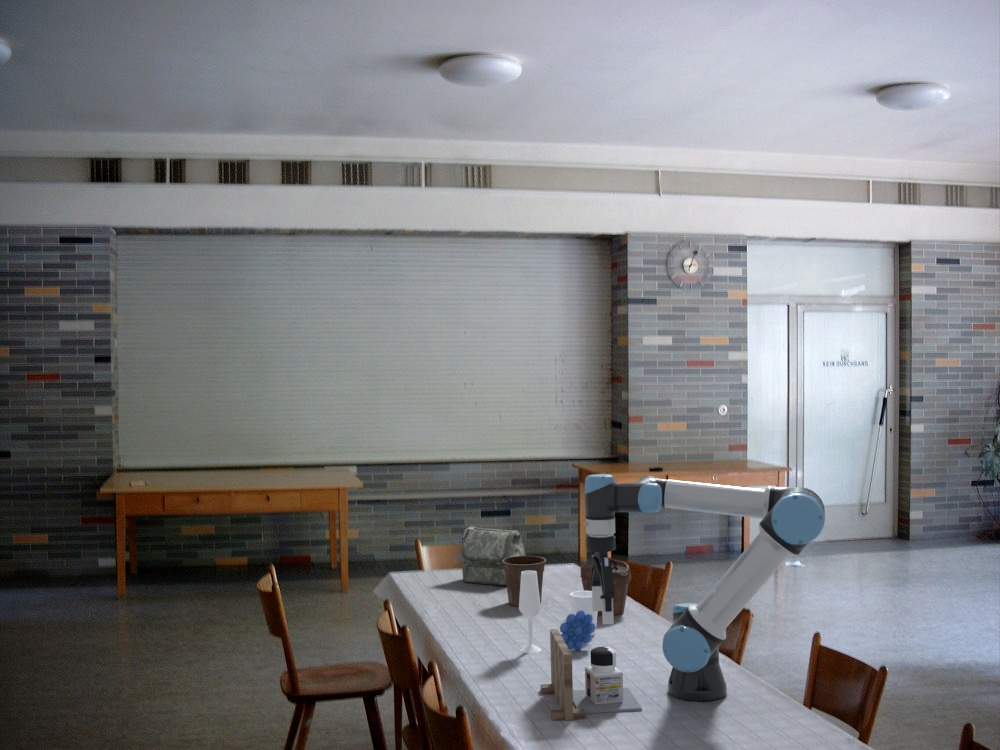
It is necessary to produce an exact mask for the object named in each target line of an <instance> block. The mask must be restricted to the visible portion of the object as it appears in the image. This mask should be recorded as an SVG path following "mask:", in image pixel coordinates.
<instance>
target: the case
mask: <svg viewBox="0 0 1000 750" xmlns="http://www.w3.org/2000/svg"><path fill="white" fill-rule="evenodd" d="M611 560H612V561H611V566H612V575H613V584H614V592H615V597H613V614H614V616H617V615H621V614H624V612H625V606H626V600H627V595H628V589H629V583H630V582H631V580H632V575H631V569H630V566H629V564H628V563H626V562H624V561H621V560H614V559H611ZM579 569H580V576H579V577H580V578H581V584H582V589H583V591H592V586H593V585H592V584H591V581H590V574H591V564H590V565H589V564H585V565H582V566H581V567H580V568H579ZM599 586H601V585H599ZM607 593H609V592H607ZM597 616H601V617H602V611H598V614H597Z"/></svg>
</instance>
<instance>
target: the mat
mask: <svg viewBox="0 0 1000 750" xmlns="http://www.w3.org/2000/svg"><path fill="white" fill-rule="evenodd" d="M573 706H575V709H578V708H583V709H584V711H585V714H599V713H601V714H602V713H616V712H618V713H619V712H635V711H636V712H637V711H638V712H639V711H643V707H642V706H641V705H640V703H639V701H638V700H637V698H636V697H635V696H634V694H633V693H632V691H631V690H630V689H629V687H623V702H619V703H609V704H600V705H595V704H594V703H593V702H592V701H591V700H590V699H589V698H588V697H587V696H586V690H585V689H577V690H576V689H573Z"/></svg>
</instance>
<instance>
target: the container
mask: <svg viewBox="0 0 1000 750" xmlns="http://www.w3.org/2000/svg"><path fill="white" fill-rule="evenodd" d="M589 653H590V654H589V655H590V665H589V666H584V677H585V678H584V682H585V684H584V685H585V687H584V688H585V689H584V690H586V696H587V697H588V698H589V699H590V700H591V701H592V702H593V703H594V704H595V705H600V704H609V703H619V702H623V688H624V681H623V680H624V674H623V673H624V672H623V671H621V670H620V669H619V668H618V667H617V652H616V650H615V649H614V648H611V647H609V646H597V647H594V648H591V650H590V652H589Z"/></svg>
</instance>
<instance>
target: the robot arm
mask: <svg viewBox="0 0 1000 750" xmlns="http://www.w3.org/2000/svg"><path fill="white" fill-rule="evenodd" d="M584 504H585V505H584V506H585V507H584V508H585V510H584V511H585V522H583V527H585V532H586V534H587V535H586V537H585V542H586V543H585V544H586V545H585V547H586V548H585V549H586V550H587V551H588V552H590V553H591V561H590V565H591V574H590V581H591V584H592V585H593V586H592V608H593V611H602V616H601V617H602V618H601V619H602V625H614V621H615V620H614V619H615V618H614V616H615V615H614V614H613V597H615V592H614V584H613V575H612V566H611V561H612V560H613V559H612V558H611V557H609V554H608V553H609V552H613V551H615V550H616V548H617V547H616V545H617V544H616V536H615V534H616V517H615V514H616V513H636V514H638V513H639V514H641V513H643V514H650V513H651V514H652V513H655V514H656V513H659V512H660V511H661V509H662V508H665V509H674V510H682V511H690V512H691V511H692V512H701V513H709V514H716V515H724V516H725V515H727V516H735V517H743V518H744V517H745V518H752V519H761V520H760V522H759V523H758V528H759V531H758V534H757V535H756V537H755V538H754V539H753V540H752V541H751V542H750V543H749V545H748V546H747V547H746V548H745V550H744V551H743V552H742V553H741V554H740V555H739V557H738V558H737V559H736V560H735V561H734V562H733V564H732V565H731V566H730V567H729V568H728V569H727V571H726V572H725V573H724V574H723V575H722V576H721V577H720V578H719V580H718V581H717V583H715V585H714V586H713V587H712V588H711V589H710V591H708V593H707V594H706V595H705V596H704V597H703V599H702V600H701V601H700V602H699V603H691V602H690V603H687V602H686V603H677V604H674V605H673V609H672V614H671V615H672V616H673V617H672V624H671V625H670V627H669V629H668V630H667V631H666V632H665V633H664V636H663V639H662V653H663V655H664V658H665V659H666V661H667V662H668V663H669V665H670V666H671V672H670V675H669V677H668V681H667V682H668V683H667V693H668V694H670V695H671V696H673V697H675V698H678V699H682V700H685V701H694V702H710V701H715V700H721V699H722V698H724V697H726V695H727V690H728V689H727V682H726V680H725V677H724V676H725V675H724V674H723V671H722V668H721V665H720V649H719V648H720V646H721V645H722V643H723V642H724V641H725V640H726V639H727V627H728V626H730V624H731V623H732V622H733V620H735V619H736V618H737V616H738V615H739V614H740V613H741V612H742V610H743V609H744V608H745V607H746V606H747V604H749V603H750V601H751V600H752V599H753V598H754V597H755V595H756V594H757V593H758V592H759V590H761V589H762V587H763V586H764V585H765V584H766V583H767V582H768V580H769V579H771V577H772V576H773V575H774V574H775V572H777V570H778V569H779V568H780V566H781V565H782V564H783V563H784V562H785V561H786V560H787V559H788V558H789V557H798V556H799V555H800V554H801V552H802V551H803V550H804V549H805V548H806V547H807V546H808V544H809V543H811V542H813V541H814V540H816V539H817V537H819V535H820V534H821V533H822V531H823V529H824V526H825V521H826V516H825V515H826V514H825V505H824V502H823V500H822V499H821V496H819V495H818V494H817V493H816V492H815V491H813V490H812V489H810V488H808V487H807V488H806V487H804V486H803V487H801V486H775V485H774V486H773V485H768V487H767V488H764V489H763V488H754V487H742V486H737V485H736V486H733V485H724V484H714V483H713V484H712V483H705V482H704V483H703V482H696V481H695V482H694V481H684V480H676V479H664V478H658V477H656V476H651V475H649V476H643V477H640V478H639V479H638V480H636V481H635V482H617V481H616V482H615V479H614V475H612V474H609V473H607V474H605V473H597V474H590V475H587V476H586V477H585V480H584ZM599 585H601V586H599ZM607 592H609V593H607Z"/></svg>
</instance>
